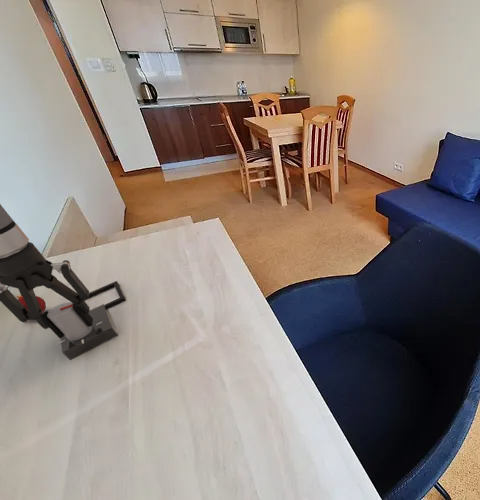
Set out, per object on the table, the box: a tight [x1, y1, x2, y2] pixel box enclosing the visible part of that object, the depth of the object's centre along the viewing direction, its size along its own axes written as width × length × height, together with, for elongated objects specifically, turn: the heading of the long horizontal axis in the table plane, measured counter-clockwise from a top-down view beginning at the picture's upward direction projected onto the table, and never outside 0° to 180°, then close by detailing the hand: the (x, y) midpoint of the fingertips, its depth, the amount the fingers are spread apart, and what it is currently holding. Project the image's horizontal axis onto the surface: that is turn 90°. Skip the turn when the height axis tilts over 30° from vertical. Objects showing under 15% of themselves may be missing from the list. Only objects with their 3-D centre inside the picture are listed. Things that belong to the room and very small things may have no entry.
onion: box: [16, 294, 47, 313], centre depth 83 cm, size 6×6×8 cm
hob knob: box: [47, 301, 93, 341], centre depth 72 cm, size 5×5×8 cm
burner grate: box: [87, 280, 127, 310], centre depth 88 cm, size 11×11×1 cm
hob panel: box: [56, 304, 119, 361], centre depth 77 cm, size 13×11×3 cm
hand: (76, 328), depth 73 cm, fingers closed on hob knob, 5 cm apart
